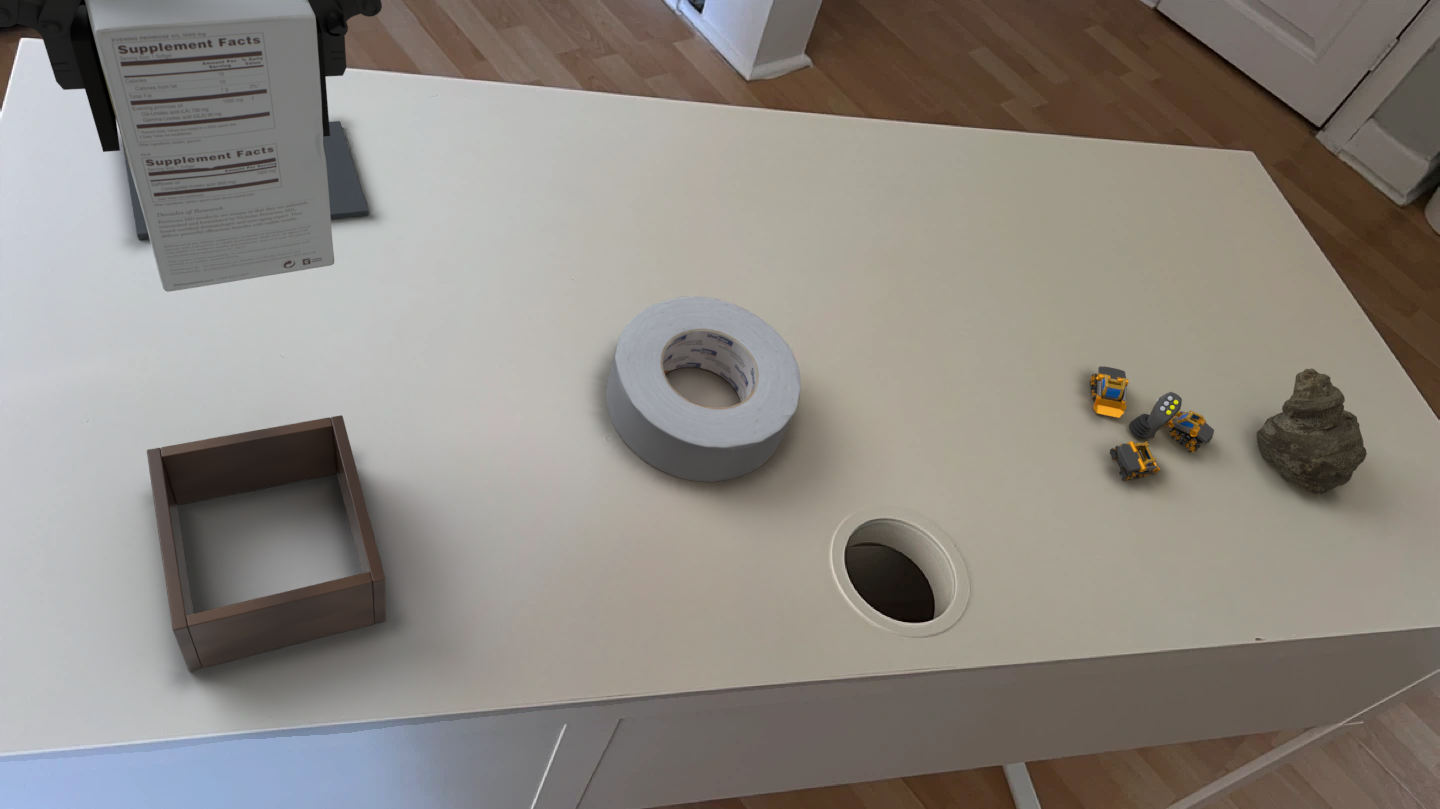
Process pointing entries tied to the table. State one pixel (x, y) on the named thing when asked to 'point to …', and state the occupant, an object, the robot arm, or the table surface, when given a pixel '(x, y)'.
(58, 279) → the table surface
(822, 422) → the table surface
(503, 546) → the table surface
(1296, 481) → the seashell
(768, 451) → the tape roll
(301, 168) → the supplement box
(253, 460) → the brown open square box
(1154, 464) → the toy set
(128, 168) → the mat
